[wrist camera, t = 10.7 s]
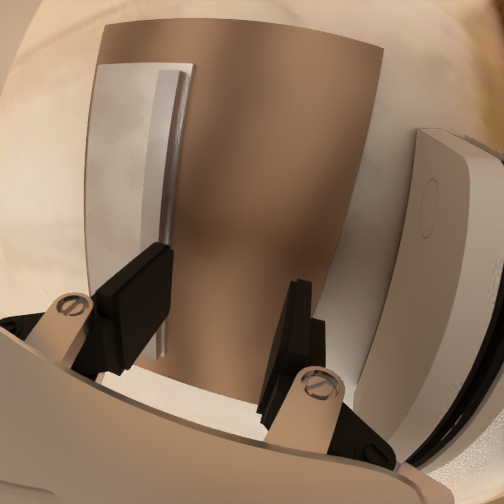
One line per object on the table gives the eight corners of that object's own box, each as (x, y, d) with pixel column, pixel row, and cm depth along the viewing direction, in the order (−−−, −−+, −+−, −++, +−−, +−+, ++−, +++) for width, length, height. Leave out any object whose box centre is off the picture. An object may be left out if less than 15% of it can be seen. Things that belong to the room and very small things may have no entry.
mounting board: (378, 54, 11) (383, 48, 10) (277, 396, 20) (275, 408, 19) (117, 29, 12) (105, 25, 11) (105, 339, 22) (97, 348, 20)
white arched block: (414, 387, 18) (419, 511, 9) (354, 380, 19) (336, 509, 10) (489, 144, 11) (620, 179, 2) (410, 124, 13) (506, 116, 4)
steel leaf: (196, 65, 12) (184, 59, 10) (166, 353, 19) (158, 367, 18) (102, 65, 12) (86, 62, 11) (98, 326, 19) (88, 337, 18)
